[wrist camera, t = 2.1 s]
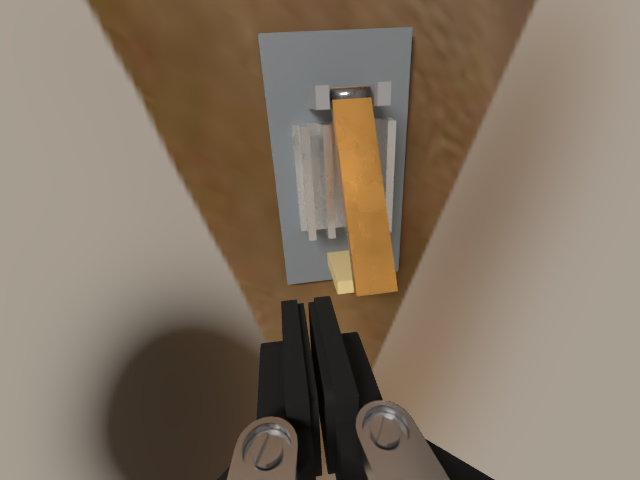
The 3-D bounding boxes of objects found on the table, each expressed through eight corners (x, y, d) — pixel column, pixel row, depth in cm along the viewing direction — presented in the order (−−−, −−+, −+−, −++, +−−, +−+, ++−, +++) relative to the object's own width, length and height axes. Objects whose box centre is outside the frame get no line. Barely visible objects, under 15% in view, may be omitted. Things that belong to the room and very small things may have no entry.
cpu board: (258, 35, 26) (253, 14, 19) (407, 29, 27) (448, 7, 21) (287, 280, 36) (290, 318, 29) (395, 267, 37) (420, 301, 31)
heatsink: (290, 124, 28) (293, 127, 24) (386, 117, 29) (402, 119, 25) (300, 225, 32) (303, 241, 29) (383, 217, 33) (397, 231, 29)
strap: (328, 94, 24) (330, 84, 23) (366, 91, 24) (370, 82, 23) (354, 295, 23) (357, 296, 21) (393, 290, 23) (398, 291, 22)
